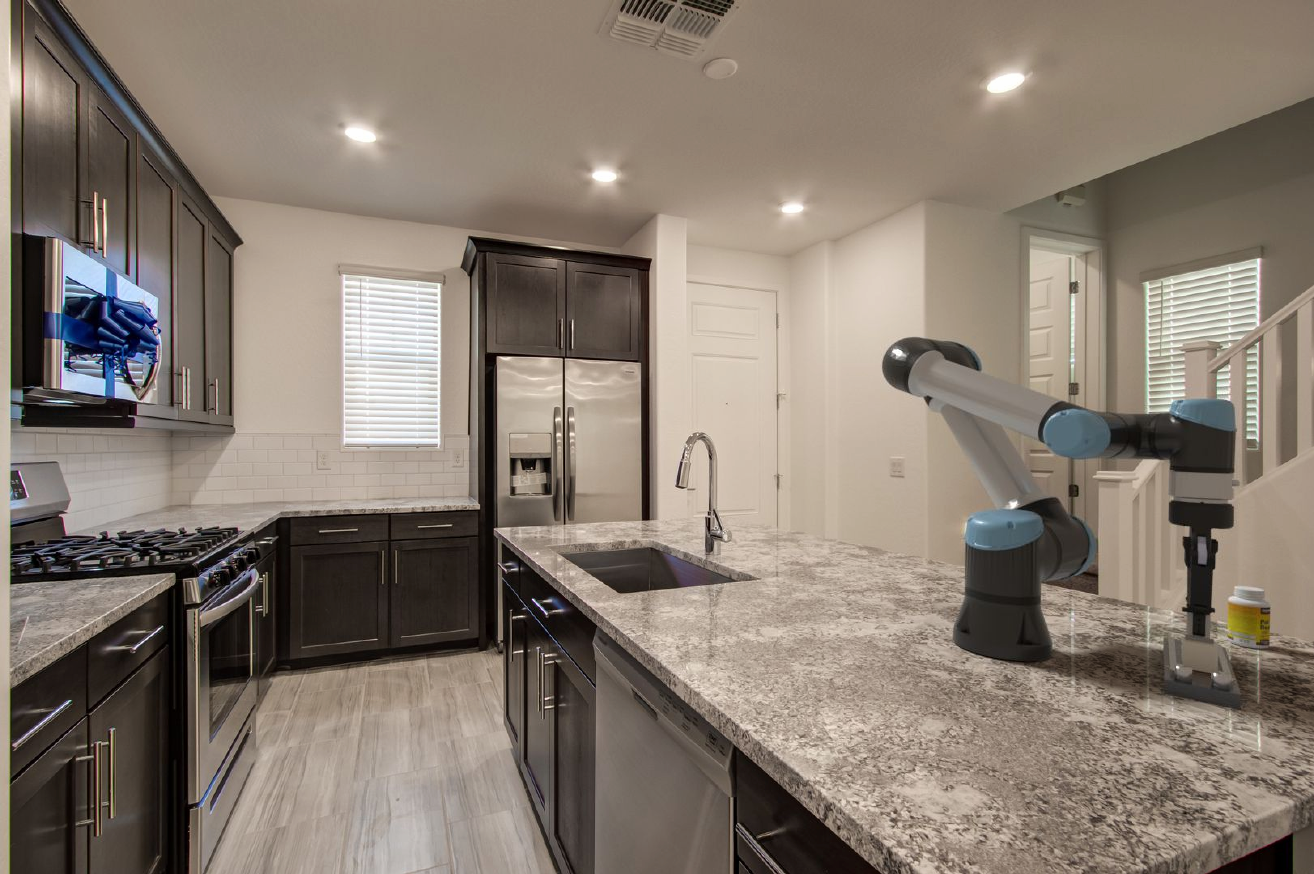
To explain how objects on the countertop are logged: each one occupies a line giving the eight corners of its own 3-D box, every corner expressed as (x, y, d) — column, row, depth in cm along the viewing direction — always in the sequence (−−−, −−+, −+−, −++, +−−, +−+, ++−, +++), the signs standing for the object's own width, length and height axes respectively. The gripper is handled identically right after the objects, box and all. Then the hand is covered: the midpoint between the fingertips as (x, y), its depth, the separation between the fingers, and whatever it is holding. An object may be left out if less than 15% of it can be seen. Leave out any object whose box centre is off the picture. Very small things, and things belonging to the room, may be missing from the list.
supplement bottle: (1264, 651, 109) (1265, 593, 109) (1222, 642, 113) (1223, 586, 113) (1273, 646, 112) (1274, 589, 112) (1232, 638, 116) (1233, 583, 117)
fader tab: (1181, 667, 93) (1182, 636, 93) (1181, 662, 96) (1181, 632, 96) (1217, 674, 91) (1218, 642, 91) (1216, 668, 93) (1216, 637, 93)
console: (1164, 693, 89) (1165, 665, 89) (1163, 648, 109) (1163, 625, 109) (1241, 709, 84) (1241, 679, 84) (1224, 659, 104) (1225, 635, 104)
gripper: (1239, 505, 88) (1235, 673, 88) (1229, 499, 98) (1226, 650, 98) (1170, 501, 92) (1166, 660, 92) (1167, 496, 102) (1164, 639, 102)
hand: (1197, 655), depth 95 cm, fingers closed
